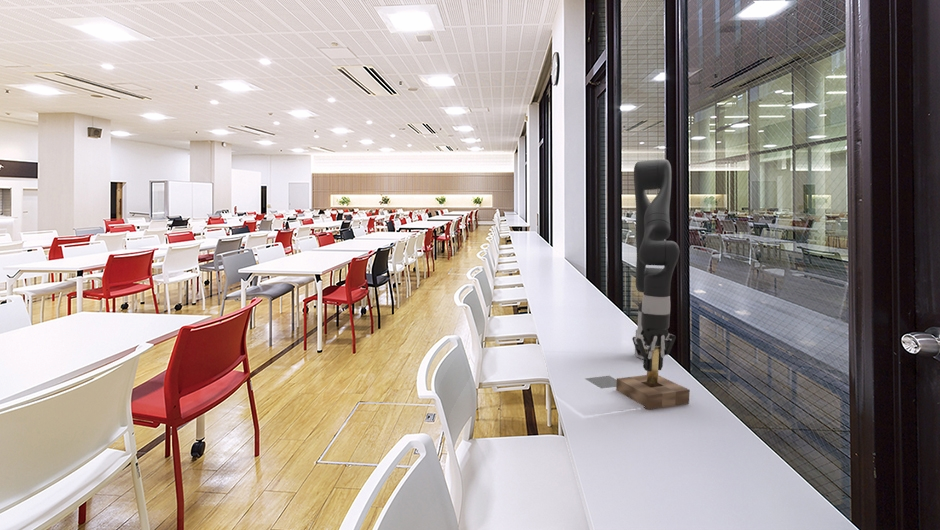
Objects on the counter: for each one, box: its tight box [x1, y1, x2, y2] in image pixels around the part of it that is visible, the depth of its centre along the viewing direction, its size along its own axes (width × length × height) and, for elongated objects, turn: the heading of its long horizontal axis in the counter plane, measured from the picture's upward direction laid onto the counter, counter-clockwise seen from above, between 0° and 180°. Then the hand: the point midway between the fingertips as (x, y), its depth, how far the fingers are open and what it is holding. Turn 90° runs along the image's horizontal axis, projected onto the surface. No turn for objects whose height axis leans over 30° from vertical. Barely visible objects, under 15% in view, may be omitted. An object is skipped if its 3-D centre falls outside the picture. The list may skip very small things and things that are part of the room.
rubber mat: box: [584, 375, 617, 389], centre depth 152 cm, size 9×9×1 cm
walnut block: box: [615, 374, 690, 411], centre depth 141 cm, size 14×14×4 cm
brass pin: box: [646, 347, 659, 384], centre depth 140 cm, size 3×3×10 cm
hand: (652, 369), depth 140 cm, fingers closed on brass pin, 3 cm apart
